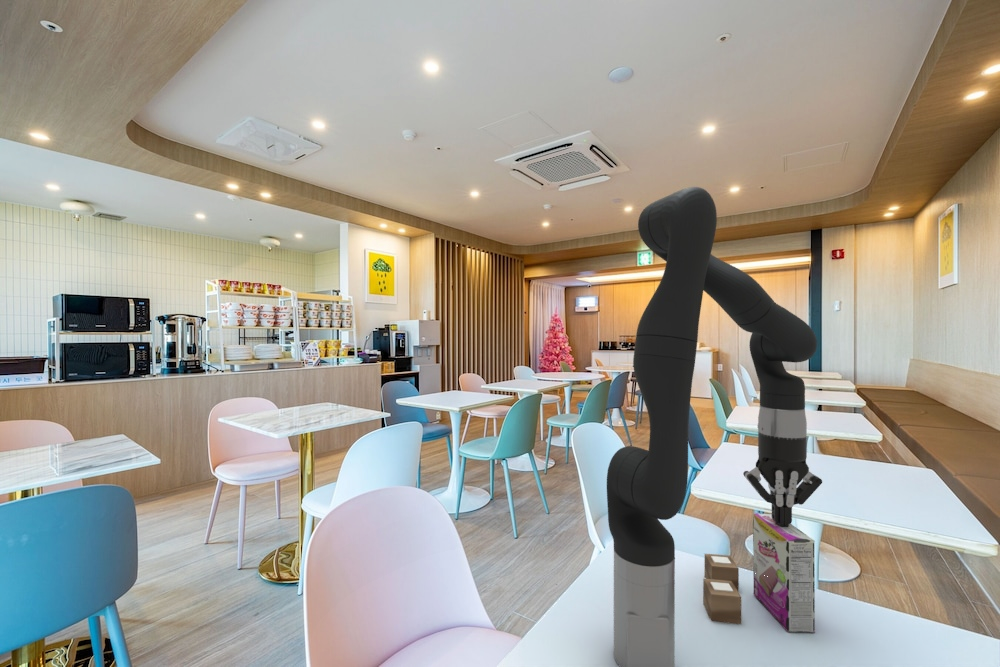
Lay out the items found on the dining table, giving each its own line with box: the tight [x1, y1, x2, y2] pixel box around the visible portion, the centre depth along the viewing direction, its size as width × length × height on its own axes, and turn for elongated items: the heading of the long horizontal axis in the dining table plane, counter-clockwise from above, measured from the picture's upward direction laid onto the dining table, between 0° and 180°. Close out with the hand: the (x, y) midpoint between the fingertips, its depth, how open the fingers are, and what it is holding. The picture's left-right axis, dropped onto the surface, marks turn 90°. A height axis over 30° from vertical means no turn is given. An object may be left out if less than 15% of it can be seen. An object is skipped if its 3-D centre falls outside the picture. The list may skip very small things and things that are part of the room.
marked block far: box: [704, 553, 740, 593], centre depth 90 cm, size 5×5×5 cm
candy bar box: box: [752, 512, 816, 634], centre depth 81 cm, size 11×5×16 cm, turn 179°
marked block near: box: [702, 578, 742, 625], centre depth 81 cm, size 5×5×5 cm
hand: (781, 524), depth 81 cm, fingers closed
